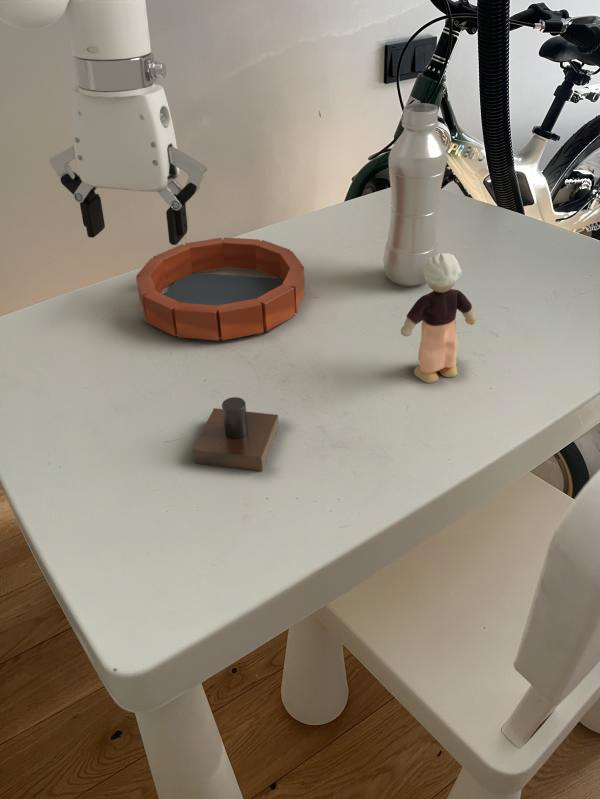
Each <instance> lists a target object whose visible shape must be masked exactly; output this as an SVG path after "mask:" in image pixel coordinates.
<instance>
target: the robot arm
mask: <svg viewBox="0 0 600 799" xmlns="http://www.w3.org/2000/svg"><path fill="white" fill-rule="evenodd" d="M64 14H65V18H66V23H67V29H68V35H69V42H70V47H71V54H72V60H73V67H74V72H75V73H74V74H75V77H76V78H75V79H76V86H74V87H73V88H72V99H71V122H72V123H71V124H72V125H71V126H72V140H73V144H72V145H71V146H69V147H66V148H65V149H64V150H62V151H60V152H58V153H57V154H55V155H54V156H52V157H50V158H49V164H50V166H51V167H52V169H53V171H54V172H55V173H56V175H57V176H58V177H59V179H60V183H61V184H62V185H63V187H64V188H65V189H67V191H69V192H70V193H71V194H72V195H73V199H74V201H75V202H76V203H79V206H80V214H81V219H82V223H83V226H84V227H85V228H86V229H85V230H86V235H87V238H95V237H97V236H98V235H99V234H100V233H101V232H102V231H103V230H105V227H106V224H105V218H104V212H103V205H102V198H101V196H100V193H96V190H97V189H98V188H99V189H109V190H110V189H111V190H121V191H132V192H133V191H134V192H135V191H136V192H147V193H148V192H150V193H151V192H152V193H153V192H156V193H157V194H158V195H160V196H161V198H162V199H163V200H164V201H165V202H166V204H167V205H168V206H169V207H168V209H167V210H166V212H165V215H166V223H167V224H166V225H167V233H168V234H167V235H168V242H169V244H170V245H171V246H178V244H179V243H180V242H181V240H182V239H183V238H185V235H186V234H187V233H188V227H189V226H188V217H187V207H186V206H187V202H188V201H189V200H190V199H191V198H192V197H193V196H194V195H195V194H196V193H197V192H198V191H199V190H200V188H201V185H202V183H203V180H204V178H205V175H206V173H207V170H208V169H207V166H206V165H205V164H204V163H202V162H200V161H198V160H197V159H195V158H193V157H192V156H190V155H188V154H186V153H185V152H183V151H182V150H180V149H178V145H177V144H178V143H177V140H176V139H177V138H176V133H175V128H174V124H173V123H174V122H173V119H172V115H171V110H170V107H169V103H168V99H167V95H166V92H165V89H164V87H163V85H159V84H155V82H156V81H157V80H159V79H165V78H166V76H167V66H166V63H164V62H158V61H155V58H154V53H152V47H151V38H150V30H149V21H148V11H147V2H146V0H0V22H2V23H3V24H5V25H6V26H9V27H11V28H14V29H17V30H20V31H26V32H27V31H28V32H34V31H35V32H36V31H41V30H44V29H47V28H49V27H51V26H53V25H55V24H56V23H57V22H58V21H59V20H60V19H61V18H62V16H63V15H64ZM74 160H75V163H76V164H75V165H76V168H77V173H76V172H75V171H74V170H72V167H71V165H70V163H71V162H73V161H74ZM180 170H181V171H183V172H185V173H186V174H187V175H188V178H187V181H186V184H185V186H184V187H183V186H182V184H181V183H180V182H179V181H178V180H177V178H178V177H179V176H180Z"/></svg>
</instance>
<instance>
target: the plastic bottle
mask: <svg viewBox="0 0 600 799" xmlns="http://www.w3.org/2000/svg"><path fill="white" fill-rule="evenodd" d="M438 107H439V106H438V105H435V104H431V103H424V102H422V103H421V102H420V103H419V102H418V103H417V102H416V103H410V104H407V105H404V106H403V112H402V120H401V126H402V128H403V131H402V132H401V134H400V135H399V136H398V138H397V139H396V141H395V142H394V144H393V146H392V147H391V149H390V151H389V154H388V174H389V184H390V205H391V206H390V220H389V228H388V234H387V241H386V244H385V247H384V252H383V258H382V261H383V262H382V263H383V270H384V273H385V275H386V276H387V278H388V279H389V280H390V281H391V282H393V283H395V284H397V285H401V286H418V285H423V284H425V283H427V282H426V280H425V276H424V273H423V271H424V268H425V264H426V262H427V260H428V259H429V258H430V257H432V256H434V255H436V254H437V253H439V248H438V242H437V221H438V220H437V218H438V217H437V216H438V215H437V214H438V209H439V207H438V206H439V204H440V194H441V189H442V185H443V180H444V176H445V172H446V168H447V163H448V162H447V161H448V156H447V150H446V147H445V145H444V143H443V141H442V139H441V138H440V136H439V134H438V133H437V132H436V128H437V127H438V125H439V120H438V114H439V108H438Z"/></svg>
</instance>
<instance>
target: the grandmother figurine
mask: <svg viewBox="0 0 600 799" xmlns="http://www.w3.org/2000/svg"><path fill="white" fill-rule="evenodd" d="M423 273H424V276H425V280H426V282H425V283H427V285H428V287H429V288H430V289H431V290H432V291H431V292H429V293H426V294H424V295H422V296H420V297H419V298H418V300H416V301H415V303H414V304H413V305H412V307H411V308H410V310H409V311H408V313H407V314H406V318H405V320H404V324H403V325H402V327H400V334H401V335H402V336H403V337H410V336H411V335H412V332H413V329H415V327H416V325H417V324H419V323H421V329H420V330H421V333H420V334H421V335H420V342H419V348H418V357H417V359H418V361H419V365H417V366H416V367H415V369H414V370H413V374H414V375H415V376H416V377H417V378H418V379H419V380H421V381H423V382H424V383H427V384H434V383H436V382H438V381H439V376H438V374H437V372H439V373H440V375H441V376H443V377H445V378H454V377H456V376H457V375H458V368H457V354H458V337H457V321H456V320H457V319H456V318H457V310H458V311H459V312H460V313H461V314H462V317H464V321H465V323H466V324H467V325H471V326H472V325H474V324H476V322H477V317H476V315H475V312H474V309H473V305H472V303H471V302H470V300H469V299H468V297H467V296H466V295H465V294H464V293H463V292H462V291H461V290H459V289H454V288H453V287H454V286H455V284H456V282H458V281H459V280H460V279H461V276H462V268H461V266H460V264H459V261H458V259H457V258H456V257H455V255H453V254H452V253H448V252H438V253H437V254H436V255H434V256H432V257H430V258H429V259H428V260H427V262H426V264H425V268H424V271H423Z"/></svg>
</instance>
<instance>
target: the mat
mask: <svg viewBox="0 0 600 799" xmlns="http://www.w3.org/2000/svg"><path fill="white" fill-rule="evenodd" d="M282 284H283V281H282V280H281V279H279V278H277V277H265V276H264V277H263V276H261V277H260V276H248V275H235V274H234V275H233V274H218V273H204V272H196V273H192V274H190V275H188V276H185V277H183V278H181V279H179V280H177V281H175V282H173V283H172V285H171V286H170V287H169V289H168V290H167V291H166V292H165V294H164V295H165V296H167V297H169V298H171V299H174V300H176V301H178V302H180V303H190V304H203V305H216V306H218V305H224V304H229V303H235V302H240V301H246V300H251V299H256V298H258V297H260V296H262V295H264V294H266V293H268V292H269V291H271V290H273V289H275V288H277V287H279V286H281V285H282ZM146 323H147V324H149V323H148V321H146ZM269 331H270V330H268V331H265V330H264V332H263V333H264V334H268V333H269ZM263 333H262V334H263Z"/></svg>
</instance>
